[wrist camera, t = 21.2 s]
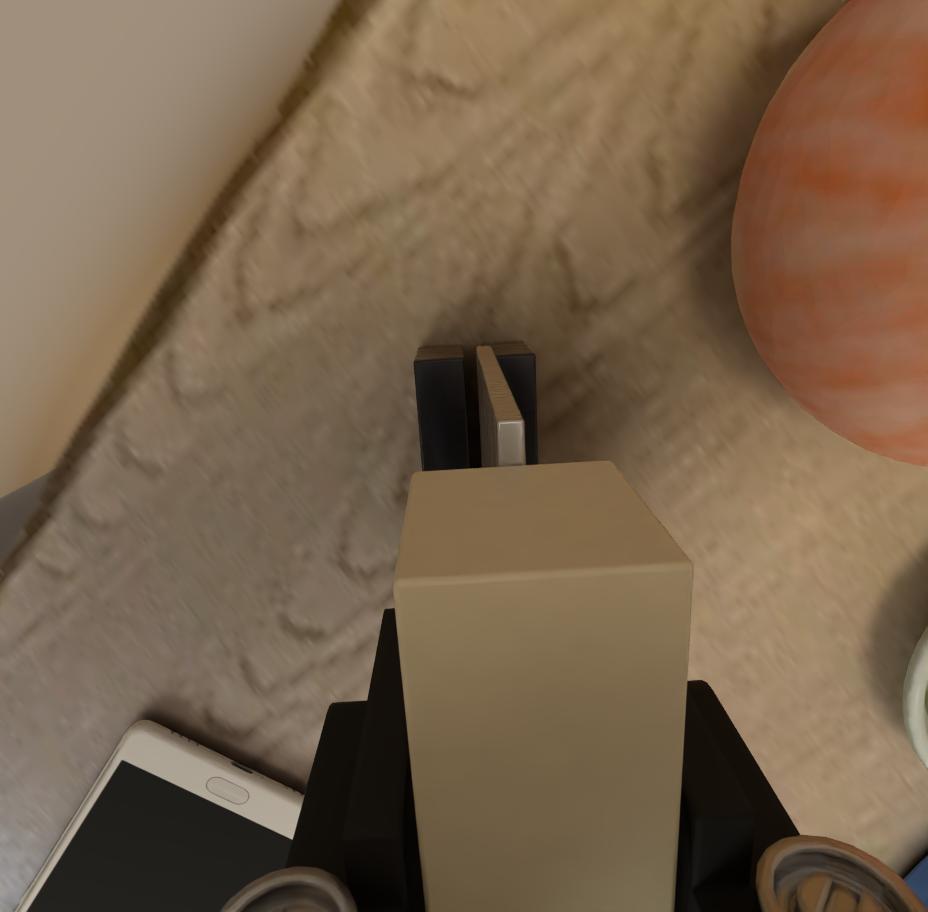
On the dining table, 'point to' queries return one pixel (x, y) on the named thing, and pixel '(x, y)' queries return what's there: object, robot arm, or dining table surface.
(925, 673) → the saucer
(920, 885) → the bowl
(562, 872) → the knife
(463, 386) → the knife holder
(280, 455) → the dining table surface
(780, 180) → the tomato
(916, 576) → the dining table surface
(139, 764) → the smartphone
